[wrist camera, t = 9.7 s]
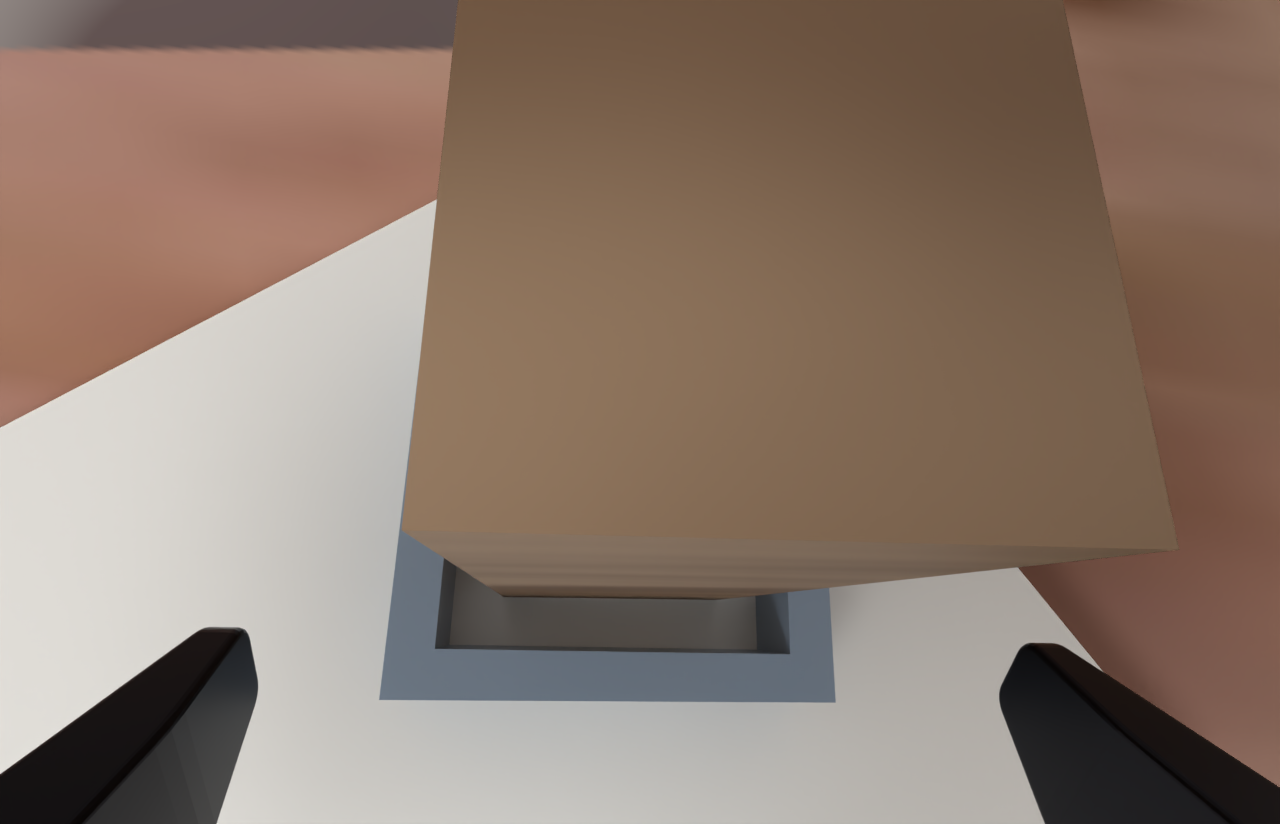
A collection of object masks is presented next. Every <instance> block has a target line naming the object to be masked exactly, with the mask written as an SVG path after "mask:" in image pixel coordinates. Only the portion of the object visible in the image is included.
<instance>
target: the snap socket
mask: <svg viewBox="0 0 1280 824" xmlns="http://www.w3.org/2000/svg"><path fill="white" fill-rule="evenodd" d="M419 362H420V361H419ZM418 371H419V370H418ZM417 381H418V378H417ZM416 390H417V387H416ZM415 399H416V395H415ZM414 409H415V403H414ZM413 418H414V412H413ZM412 427H413V420H412ZM411 437H412V428H411ZM411 437H410V445H409V454H408V462H407V470H406V479H405V487H404V495H403V504H402V512H401V521H400V529H399V537H398V546H397V554H396V562H395V571H394V579H393V587H392V596H391V604H390V613H389V621H388V629H387V638H386V646H385V654H384V663H383V671H382V680H381V688H380V696H379V700H464V701H637V702H809V703H836V698H835V681H834V664H833V646H832V629H831V611H830V594H829V588H823V589H813V590H804V591H795V592H786V593H776V594H767V595H758V596H755V597H756V633H757V650H748V649H685V648H622V647H559V646H495V645H449V642H450V631H451V620H452V610H453V599H454V589H455V578H456V567H457V566H455V565H454V564H452V563H451V562H449V561H448V560H446V559H445V558H443V557H442V556H440V555H439V554H437V553H436V552H434V551H432V550H431V549H429V548H428V547H426V546H425V545H423V544H422V543H420V542H419V541H417V540H416V539H414V538H413V537H411V536H409V535H408V534H406V533H405V532H403V531H402V521H403V512H404V502H405V493H406V484H407V474H408V465H409V456H410V446H411Z"/></svg>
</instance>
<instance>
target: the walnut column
mask: <svg viewBox="0 0 1280 824" xmlns="http://www.w3.org/2000/svg"><path fill="white" fill-rule="evenodd" d="M402 531H403V532H405V533H406V534H408V535H409V536H411V537H413V538H414V539H416V540H417V541H419V542H420V543H422V544H423V545H425V546H426V547H428V548H429V549H431V550H432V551H434V552H436V553H437V554H439V555H440V556H442V557H443V558H445V559H446V560H448V561H449V562H451V563H452V564H454V565H455V566H457V567H458V568H460V569H462V570H463V571H465V572H466V573H468V574H469V575H471V576H472V577H474V578H475V579H477V580H478V581H480V582H481V583H483V584H485V585H486V586H488V587H489V588H491V589H492V590H494V591H495V592H497V593H498V594H500V595H501V596H503V597H537V598H613V599H689V600H721V599H730V598H740V597H749V596H758V595H767V594H776V593H786V592H795V591H804V590H813V589H823V588H832V587H841V586H850V585H859V584H869V583H878V582H887V581H896V580H906V579H915V578H924V577H933V576H942V575H952V574H961V573H970V572H979V571H989V570H998V569H1007V568H1016V567H1025V566H1035V565H1044V564H1053V563H1062V562H1072V561H1081V560H1090V559H1099V558H1108V557H1118V556H1127V555H1136V554H1145V553H1155V552H1164V551H1173V550H1179V546H1178V542H1177V537H1176V532H1175V528H1174V523H1173V518H1172V513H1171V509H1170V504H1169V499H1168V495H1167V490H1166V485H1165V480H1164V476H1163V471H1162V466H1161V462H1160V457H1159V452H1158V447H1157V443H1156V438H1155V433H1154V428H1153V424H1152V419H1151V414H1150V410H1149V405H1148V400H1147V395H1146V391H1145V386H1144V381H1143V377H1142V372H1141V367H1140V362H1139V358H1138V353H1137V348H1136V344H1135V339H1134V334H1133V329H1132V325H1131V320H1130V315H1129V311H1128V306H1127V301H1126V296H1125V292H1124V287H1123V282H1122V278H1121V273H1120V268H1119V263H1118V259H1117V254H1116V249H1115V244H1114V240H1113V235H1112V230H1111V226H1110V221H1109V216H1108V211H1107V207H1106V202H1105V197H1104V193H1103V188H1102V183H1101V178H1100V174H1099V169H1098V164H1097V160H1096V155H1095V150H1094V145H1093V141H1092V136H1091V131H1090V127H1089V122H1088V117H1087V112H1086V108H1085V103H1084V98H1083V94H1082V89H1081V84H1080V79H1079V75H1078V70H1077V65H1076V60H1075V56H1074V51H1073V46H1072V42H1071V37H1070V32H1069V27H1068V23H1067V18H1066V13H1065V9H1064V4H1063V0H458V7H457V16H456V26H455V35H454V44H453V53H452V63H451V72H450V81H449V91H448V100H447V109H446V119H445V128H444V137H443V147H442V156H441V165H440V175H439V184H438V194H437V203H436V212H435V222H434V231H433V240H432V250H431V259H430V268H429V278H428V287H427V296H426V306H425V315H424V325H423V334H422V343H421V353H420V362H419V371H418V381H417V390H416V399H415V409H414V418H413V427H412V437H411V446H410V456H409V465H408V474H407V484H406V493H405V502H404V512H403V521H402Z"/></svg>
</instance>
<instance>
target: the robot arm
mask: <svg viewBox="0 0 1280 824" xmlns="http://www.w3.org/2000/svg"><path fill="white" fill-rule="evenodd" d="M257 695H258V677H257V672H256V667H255V662H254V657H253V652H252V647H251V641H250V637H249V635H248V633H247V631H246V630H245V629H243V628H240V627H206V628H203V629H200V630H198V631H197V632H195V633H194V634H192V635H191V636H190V637H188V638H187V639H185V640H184V641H183V642H181V643H180V644H179V645H177V646H176V647H174V648H173V649H172V650H170V651H169V652H167V653H166V654H165V655H163V656H162V657H161V658H159V659H158V660H156V661H155V662H154V663H152V664H151V665H150V666H148V667H147V668H145V669H144V670H143V671H141V672H140V673H139V674H137V675H136V676H134V677H133V678H132V679H130V680H129V681H128V682H126V683H125V684H123V685H122V686H121V687H119V688H118V689H116V690H115V691H114V692H112V693H111V694H110V695H108V696H107V697H105V698H104V699H103V700H101V701H100V702H99V703H97V704H96V705H94V706H93V707H92V708H90V709H89V710H88V711H86V712H85V713H83V714H82V715H81V716H79V717H78V718H76V719H75V720H74V721H72V722H71V723H70V724H68V725H67V726H65V727H64V728H63V729H61V730H60V731H59V732H57V733H56V734H54V735H53V736H52V737H50V738H49V739H48V740H46V741H45V742H43V743H42V744H41V745H39V746H38V747H37V748H35V749H34V750H32V751H31V752H30V753H28V754H27V755H25V756H24V757H23V758H21V759H20V760H19V761H17V762H16V763H14V764H13V765H12V766H10V767H9V768H8V769H6V770H5V771H3V772H2V773H1V774H0V824H217V821H218V818H219V815H220V812H221V809H222V806H223V803H224V800H225V796H226V793H227V790H228V787H229V784H230V781H231V778H232V775H233V772H234V769H235V766H236V763H237V760H238V757H239V753H240V750H241V747H242V744H243V741H244V738H245V735H246V732H247V729H248V726H249V723H250V720H251V717H252V713H253V710H254V707H255V704H256V700H257ZM999 702H1000V708H1001V711H1002V714H1003V716H1004V719H1005V721H1006V724H1007V727H1008V729H1009V732H1010V735H1011V737H1012V740H1013V742H1014V745H1015V748H1016V750H1017V753H1018V755H1019V758H1020V761H1021V763H1022V766H1023V769H1024V771H1025V774H1026V776H1027V779H1028V782H1029V784H1030V787H1031V789H1032V792H1033V795H1034V797H1035V800H1036V803H1037V805H1038V808H1039V810H1040V813H1041V816H1042V818H1043V820H1044V823H1045V824H1280V787H1278V786H1277V785H1275V784H1274V783H1272V782H1271V781H1269V780H1267V779H1266V778H1264V777H1263V776H1261V775H1260V774H1258V773H1257V772H1255V771H1254V770H1252V769H1251V768H1249V767H1248V766H1246V765H1245V764H1243V763H1241V762H1240V761H1238V760H1237V759H1235V758H1234V757H1232V756H1231V755H1229V754H1228V753H1226V752H1225V751H1223V750H1222V749H1220V748H1219V747H1217V746H1215V745H1214V744H1212V743H1211V742H1209V741H1208V740H1206V739H1205V738H1203V737H1202V736H1200V735H1199V734H1197V733H1196V732H1194V731H1193V730H1191V729H1189V728H1188V727H1186V726H1185V725H1183V724H1182V723H1180V722H1179V721H1177V720H1176V719H1174V718H1173V717H1171V716H1170V715H1168V714H1167V713H1165V712H1164V711H1162V710H1160V709H1159V708H1157V707H1156V706H1154V705H1153V704H1151V703H1150V702H1148V701H1147V700H1145V699H1144V698H1142V697H1141V696H1139V695H1138V694H1136V693H1134V692H1133V691H1131V690H1130V689H1128V688H1127V687H1125V686H1124V685H1122V684H1121V683H1119V682H1118V681H1116V680H1115V679H1113V678H1112V677H1110V676H1108V675H1107V674H1105V673H1104V672H1102V671H1101V670H1099V669H1098V668H1096V667H1095V666H1093V665H1092V664H1090V663H1089V662H1087V661H1086V660H1084V659H1083V658H1081V657H1079V656H1078V655H1076V654H1075V653H1073V652H1072V651H1070V650H1069V649H1067V648H1066V647H1064V646H1062V645H1059V644H1055V643H1026V644H1025V645H1023V646H1022V647H1021V648H1020V649H1019V650H1018V652H1017V654H1016V656H1015V658H1014V660H1013V662H1012V664H1011V666H1010V668H1009V670H1008V672H1007V674H1006V676H1005V678H1004V680H1003V682H1002V684H1001V687H1000V691H999Z"/></svg>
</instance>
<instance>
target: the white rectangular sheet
mask: <svg viewBox="0 0 1280 824" xmlns="http://www.w3.org/2000/svg"><path fill="white" fill-rule="evenodd" d="M436 203H437V200H435V201H433V202H431V203H429V204H427V205H425V206H423V207H422V208H420V209H418V210H416V211H414V212H412V213H410V214H408V215H406V216H404V217H402V218H400V219H399V220H397V221H395V222H393V223H391V224H389V225H387V226H385V227H383V228H381V229H379V230H378V231H376V232H374V233H372V234H370V235H368V236H366V237H364V238H362V239H360V240H358V241H357V242H355V243H353V244H351V245H349V246H347V247H345V248H343V249H341V250H339V251H337V252H335V253H334V254H332V255H330V256H328V257H326V258H324V259H322V260H320V261H318V262H316V263H314V264H313V265H311V266H309V267H307V268H305V269H303V270H301V271H299V272H297V273H295V274H293V275H292V276H290V277H288V278H286V279H284V280H282V281H280V282H278V283H276V284H274V285H272V286H270V287H269V288H267V289H265V290H263V291H261V292H259V293H257V294H255V295H253V296H251V297H249V298H248V299H246V300H244V301H242V302H240V303H238V304H236V305H234V306H232V307H230V308H228V309H226V310H225V311H223V312H221V313H219V314H217V315H215V316H213V317H211V318H209V319H207V320H205V321H204V322H202V323H200V324H198V325H196V326H194V327H192V328H190V329H188V330H186V331H184V332H183V333H181V334H179V335H177V336H175V337H173V338H171V339H169V340H167V341H165V342H163V343H161V344H160V345H158V346H156V347H154V348H152V349H150V350H148V351H146V352H144V353H142V354H140V355H139V356H137V357H135V358H133V359H131V360H129V361H127V362H125V363H123V364H121V365H119V366H117V367H116V368H114V369H112V370H110V371H108V372H106V373H104V374H102V375H100V376H98V377H96V378H95V379H93V380H91V381H89V382H87V383H85V384H83V385H81V386H79V387H77V388H75V389H74V390H72V391H70V392H68V393H66V394H64V395H62V396H60V397H58V398H56V399H54V400H52V401H51V402H49V403H47V404H45V405H43V406H41V407H39V408H37V409H35V410H33V411H31V412H30V413H28V414H26V415H24V416H22V417H20V418H18V419H16V420H14V421H12V422H10V423H8V424H7V425H5V426H3V427H1V428H0V774H1V773H2V772H3V771H5V770H6V769H8V768H9V767H10V766H12V765H13V764H14V763H16V762H17V761H19V760H20V759H21V758H23V757H24V756H25V755H27V754H28V753H30V752H31V751H32V750H34V749H35V748H37V747H38V746H39V745H41V744H42V743H43V742H45V741H46V740H48V739H49V738H50V737H52V736H53V735H54V734H56V733H57V732H59V731H60V730H61V729H63V728H64V727H65V726H67V725H68V724H70V723H71V722H72V721H74V720H75V719H76V718H78V717H79V716H81V715H82V714H83V713H85V712H86V711H88V710H89V709H90V708H92V707H93V706H94V705H96V704H97V703H99V702H100V701H101V700H103V699H104V698H105V697H107V696H108V695H110V694H111V693H112V692H114V691H115V690H116V689H118V688H119V687H121V686H122V685H123V684H125V683H126V682H128V681H129V680H130V679H132V678H133V677H134V676H136V675H137V674H139V673H140V672H141V671H143V670H144V669H145V668H147V667H148V666H150V665H151V664H152V663H154V662H155V661H156V660H158V659H159V658H161V657H162V656H163V655H165V654H166V653H167V652H169V651H170V650H172V649H173V648H174V647H176V646H177V645H179V644H180V643H181V642H183V641H184V640H185V639H187V638H188V637H190V636H191V635H192V634H194V633H195V632H197V631H198V630H200V629H203V628H206V627H240V628H243V629H245V630H246V631H247V633H248V635H249V637H250V641H251V647H252V652H253V657H254V662H255V667H256V672H257V677H258V695H257V700H256V704H255V707H254V710H253V713H252V717H251V720H250V723H249V726H248V729H247V732H246V735H245V738H244V741H243V744H242V747H241V750H240V753H239V757H238V760H237V763H236V766H235V769H234V772H233V775H232V778H231V781H230V784H229V787H228V790H227V793H226V796H225V800H224V803H223V806H222V809H221V812H220V815H219V818H218V821H217V824H1045V823H1044V820H1043V818H1042V816H1041V813H1040V810H1039V808H1038V805H1037V803H1036V800H1035V797H1034V795H1033V792H1032V789H1031V787H1030V784H1029V782H1028V779H1027V776H1026V774H1025V771H1024V769H1023V766H1022V763H1021V761H1020V758H1019V755H1018V753H1017V750H1016V748H1015V745H1014V742H1013V740H1012V737H1011V735H1010V732H1009V729H1008V727H1007V724H1006V721H1005V719H1004V716H1003V714H1002V711H1001V708H1000V702H999V691H1000V687H1001V684H1002V682H1003V680H1004V678H1005V676H1006V674H1007V672H1008V670H1009V668H1010V666H1011V664H1012V662H1013V660H1014V658H1015V656H1016V654H1017V652H1018V650H1019V649H1020V648H1021V647H1022V646H1023V645H1025V644H1026V643H1055V644H1059V645H1062V646H1064V647H1066V648H1067V649H1069V650H1070V651H1072V652H1073V653H1075V654H1076V655H1078V656H1079V657H1081V658H1083V659H1084V660H1086V661H1087V662H1089V663H1090V664H1092V665H1093V666H1095V667H1096V668H1098V669H1099V670H1101V668H1100V667H1099V666H1098V665H1097V664H1096V662H1095V661H1094V660H1093V659H1092V657H1091V656H1090V655H1089V654H1088V653H1087V651H1086V650H1085V649H1084V648H1083V646H1082V645H1081V644H1080V643H1079V642H1078V640H1077V639H1076V638H1075V637H1074V635H1073V634H1072V633H1071V632H1070V631H1069V629H1068V628H1067V627H1066V626H1065V624H1064V623H1063V622H1062V621H1061V620H1060V618H1059V617H1058V616H1057V615H1056V614H1055V612H1054V611H1053V610H1052V609H1051V607H1050V606H1049V605H1048V604H1047V603H1046V601H1045V600H1044V599H1043V598H1042V596H1041V595H1040V594H1039V593H1038V592H1037V590H1036V589H1035V588H1034V587H1033V585H1032V584H1031V583H1030V582H1029V581H1028V579H1027V578H1026V577H1025V576H1024V574H1023V573H1022V572H1021V571H1020V570H1019V568H1018V567H1016V568H1007V569H998V570H989V571H979V572H970V573H961V574H952V575H942V576H933V577H924V578H915V579H906V580H896V581H887V582H878V583H869V584H859V585H850V586H841V587H832V588H829V594H830V611H831V629H832V646H833V664H834V681H835V698H836V703H809V702H637V701H464V700H379V696H380V688H381V680H382V671H383V663H384V654H385V646H386V638H387V629H388V621H389V613H390V604H391V596H392V587H393V579H394V571H395V562H396V554H397V546H398V537H399V529H400V521H401V512H402V504H403V495H404V487H405V479H406V470H407V462H408V454H409V445H410V437H411V428H412V420H413V412H414V403H415V395H416V387H417V378H418V370H419V361H420V353H421V343H422V334H423V325H424V315H425V306H426V296H427V287H428V278H429V268H430V259H431V250H432V240H433V231H434V222H435V212H436ZM449 645H495V646H559V647H622V648H685V649H748V650H757V633H756V597H755V596H749V597H740V598H730V599H721V600H689V599H613V598H537V597H503V596H501V595H500V594H498V593H497V592H495V591H494V590H492V589H491V588H489V587H488V586H486V585H485V584H483V583H481V582H480V581H478V580H477V579H475V578H474V577H472V576H471V575H469V574H468V573H466V572H465V571H463V570H462V569H460V568H458V567H456V578H455V589H454V599H453V610H452V620H451V631H450V642H449ZM1101 671H1102V670H1101ZM1102 672H1103V671H1102Z"/></svg>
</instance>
